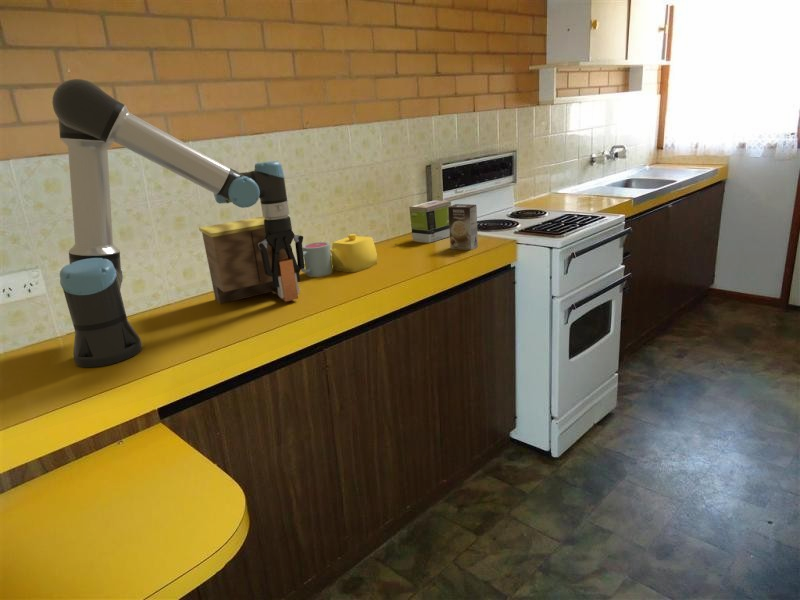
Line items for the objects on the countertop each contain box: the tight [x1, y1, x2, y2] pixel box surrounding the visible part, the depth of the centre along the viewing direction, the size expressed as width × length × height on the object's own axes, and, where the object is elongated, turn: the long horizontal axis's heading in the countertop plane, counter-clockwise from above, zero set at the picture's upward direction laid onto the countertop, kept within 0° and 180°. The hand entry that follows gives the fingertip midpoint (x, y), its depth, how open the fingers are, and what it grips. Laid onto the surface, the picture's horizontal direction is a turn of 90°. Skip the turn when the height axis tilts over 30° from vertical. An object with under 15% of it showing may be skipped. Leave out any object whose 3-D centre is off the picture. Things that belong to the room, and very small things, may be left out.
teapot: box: [330, 233, 378, 273], centre depth 202 cm, size 20×12×12 cm, turn 142°
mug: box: [300, 241, 334, 278], centre depth 197 cm, size 14×9×10 cm
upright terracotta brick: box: [271, 257, 299, 303], centre depth 173 cm, size 4×14×12 cm, turn 32°
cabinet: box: [199, 216, 288, 305], centre depth 176 cm, size 23×15×23 cm, turn 121°
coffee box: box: [448, 203, 479, 251], centre depth 214 cm, size 9×6×16 cm
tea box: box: [408, 199, 452, 244], centre depth 235 cm, size 15×10×15 cm
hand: (289, 294), depth 170 cm, fingers closed on upright terracotta brick, 4 cm apart
